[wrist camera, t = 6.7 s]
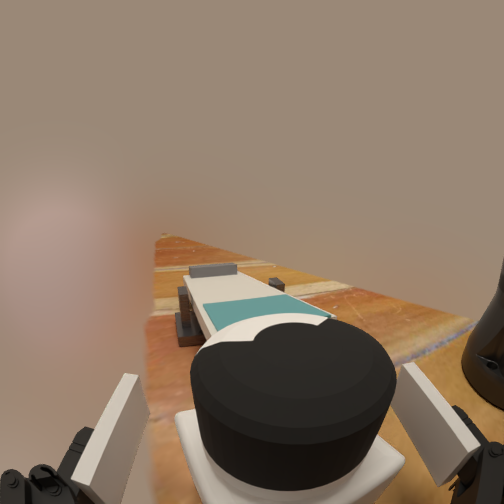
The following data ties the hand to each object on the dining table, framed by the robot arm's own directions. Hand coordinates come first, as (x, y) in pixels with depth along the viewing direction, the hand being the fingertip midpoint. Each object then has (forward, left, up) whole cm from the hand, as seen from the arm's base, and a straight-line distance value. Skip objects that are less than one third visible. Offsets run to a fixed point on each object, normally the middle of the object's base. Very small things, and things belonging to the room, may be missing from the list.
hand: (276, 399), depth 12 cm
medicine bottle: (+2, +2, -7) cm, 8 cm away
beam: (-12, -16, -3) cm, 20 cm away
